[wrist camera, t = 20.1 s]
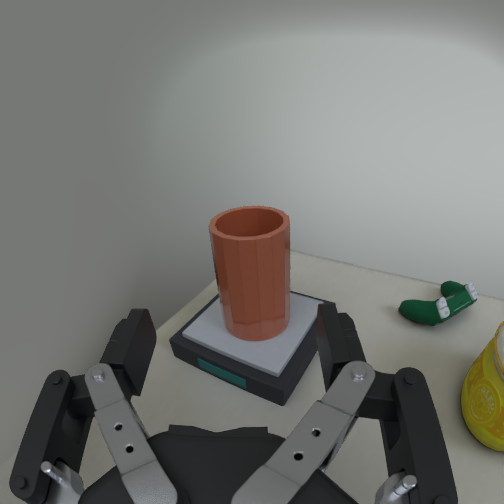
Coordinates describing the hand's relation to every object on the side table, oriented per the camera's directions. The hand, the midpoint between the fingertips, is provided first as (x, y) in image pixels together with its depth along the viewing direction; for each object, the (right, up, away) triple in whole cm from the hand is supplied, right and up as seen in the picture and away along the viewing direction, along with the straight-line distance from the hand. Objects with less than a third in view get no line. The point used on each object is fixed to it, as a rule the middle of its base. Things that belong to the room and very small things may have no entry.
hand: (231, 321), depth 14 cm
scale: (+1, -6, +17) cm, 18 cm away
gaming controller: (+22, -4, +17) cm, 28 cm away
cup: (+1, -3, +15) cm, 15 cm away
